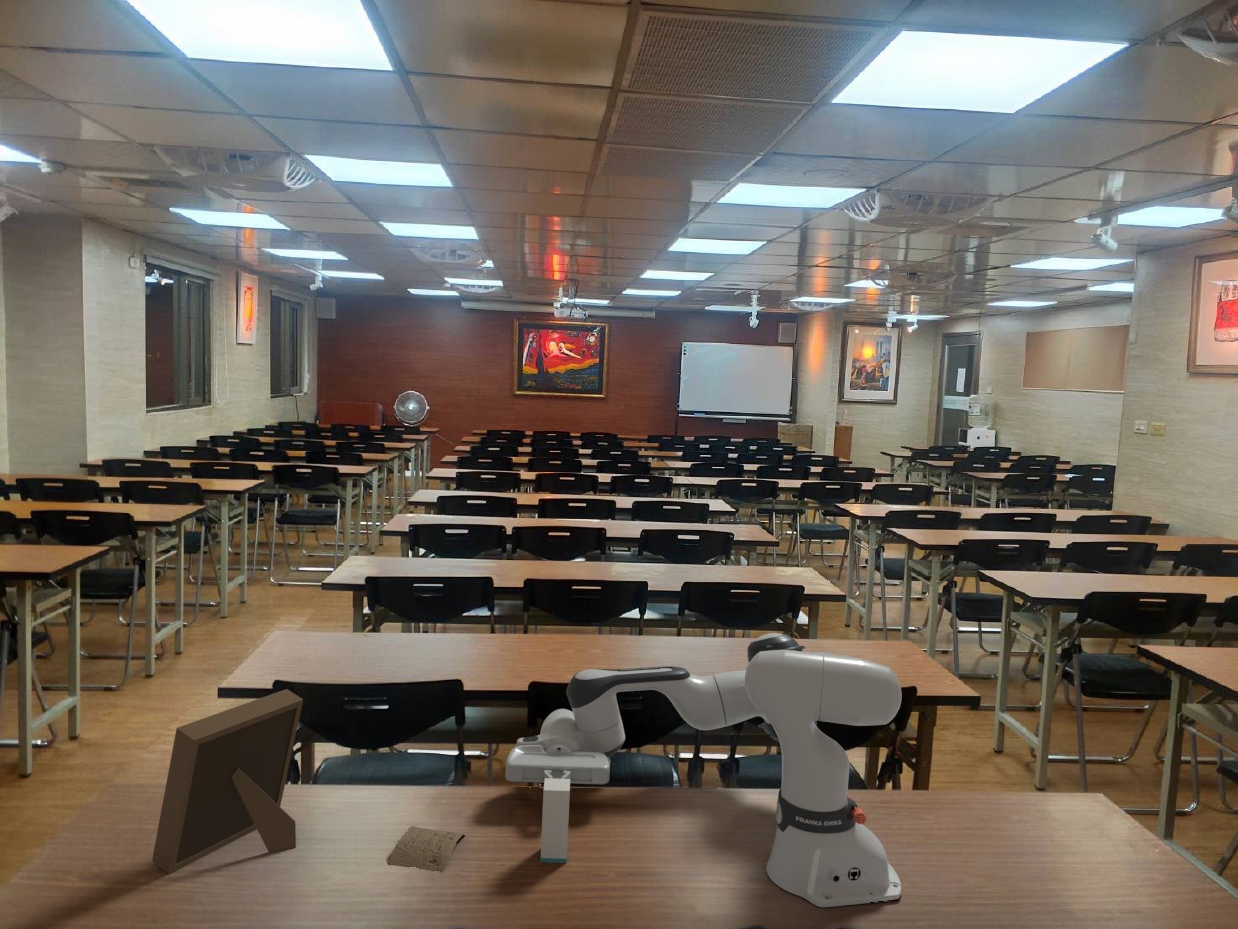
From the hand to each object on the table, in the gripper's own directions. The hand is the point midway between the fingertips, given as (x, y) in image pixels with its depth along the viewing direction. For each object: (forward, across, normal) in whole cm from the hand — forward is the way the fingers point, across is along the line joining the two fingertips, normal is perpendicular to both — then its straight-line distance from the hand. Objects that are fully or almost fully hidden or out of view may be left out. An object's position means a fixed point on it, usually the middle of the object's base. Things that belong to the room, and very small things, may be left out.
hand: (556, 786), depth 161 cm
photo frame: (+12, +54, -8) cm, 56 cm away
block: (+11, 0, -7) cm, 13 cm away
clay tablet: (+10, +22, -8) cm, 25 cm away
